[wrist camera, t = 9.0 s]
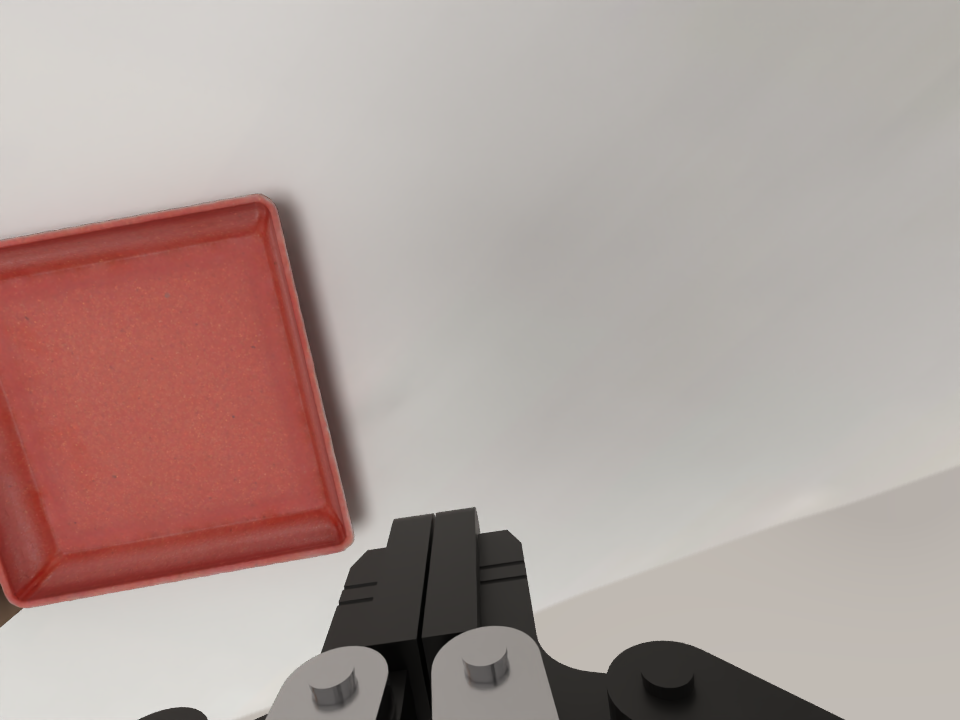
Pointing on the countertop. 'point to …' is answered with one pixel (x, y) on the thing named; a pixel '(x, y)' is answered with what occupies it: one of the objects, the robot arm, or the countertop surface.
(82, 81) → the countertop surface
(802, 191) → the countertop surface
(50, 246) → the plant saucer
